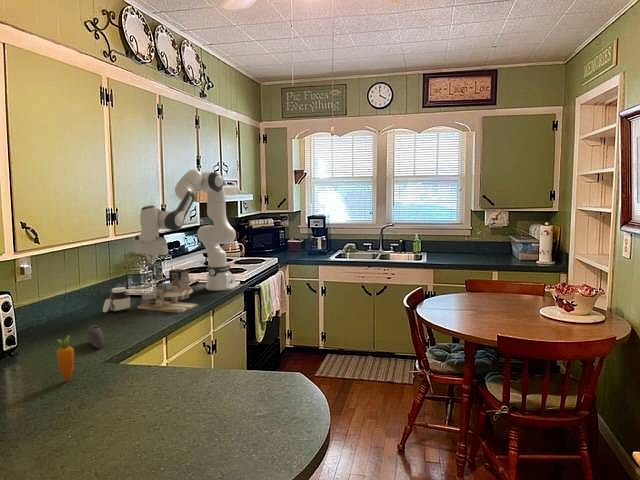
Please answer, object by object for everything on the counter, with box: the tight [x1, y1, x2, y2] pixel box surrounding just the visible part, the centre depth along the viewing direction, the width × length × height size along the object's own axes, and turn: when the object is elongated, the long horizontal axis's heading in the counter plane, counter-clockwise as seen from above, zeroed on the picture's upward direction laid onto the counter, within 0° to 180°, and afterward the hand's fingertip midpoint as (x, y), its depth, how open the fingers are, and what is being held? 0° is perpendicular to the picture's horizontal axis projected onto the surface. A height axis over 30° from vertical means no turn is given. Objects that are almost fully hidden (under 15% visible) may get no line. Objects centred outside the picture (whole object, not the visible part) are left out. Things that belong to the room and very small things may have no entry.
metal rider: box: [156, 282, 173, 292], centre depth 251 cm, size 4×6×4 cm, turn 67°
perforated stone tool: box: [86, 324, 105, 349], centre depth 192 cm, size 15×5×7 cm, turn 34°
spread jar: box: [102, 286, 131, 314], centre depth 244 cm, size 12×11×12 cm
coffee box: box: [168, 268, 190, 301], centre depth 271 cm, size 9×6×16 cm
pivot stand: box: [136, 286, 199, 314], centre depth 251 cm, size 15×27×10 cm, turn 67°
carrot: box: [56, 335, 75, 382], centre depth 156 cm, size 5×5×15 cm
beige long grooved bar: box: [141, 285, 194, 304], centre depth 251 cm, size 8×27×6 cm, turn 67°
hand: (151, 262), depth 253 cm, fingers closed
